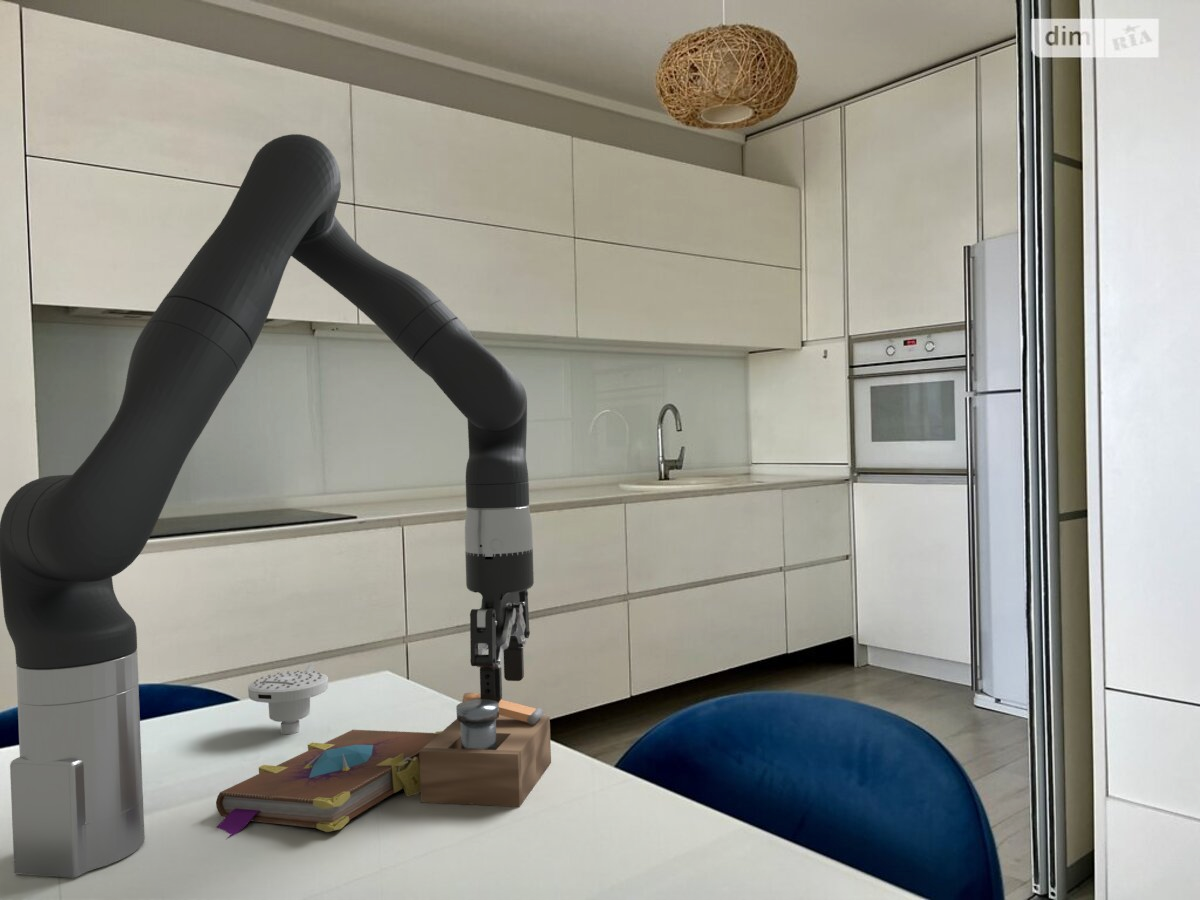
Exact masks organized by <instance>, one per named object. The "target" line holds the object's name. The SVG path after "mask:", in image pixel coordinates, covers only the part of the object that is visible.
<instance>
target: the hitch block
mask: <svg viewBox="0 0 1200 900" xmlns="http://www.w3.org/2000/svg"><path fill="white" fill-rule="evenodd" d="M550 718H551V717H550V716H548V715H547V716H546V715H545V716H543V715H542V717H541V718H540V719H539V720H538V721H537V722H536V724H534V725H530V724H529V723H528V722H524V721H521V720H517V719H513V718H509V717H505V716H501V715H499V717H498V718H497V719H496V743H497V749H496V750H479V749H461V722H459V721H458V720H457V718H455V719H454V720H453V721H452V722H451V723H450V724H449V725H448V726H447V727H446V728H445V729H443V730H441V731H442V732H441V733H440V734H439V735H437V736H436V737H435V738H434V739H433V740H432V741H430V742H429V743H428V744H427V745H426V746H425V747H423V748H422V749H421V750H420V751H419V758H420V784H421V791H420V802H421V803H429V804H431V803H432V804H451V805H452V804H454V805H471V806H472V805H476V806H496V807H497V806H498V807H500V806H501V807H521V805H522V804H523V803H524V801H525V800H526V799H527V797H528V796H529V794H530V793H531V792H532V790H533V789H534V788H535V786H536V785H537V784H538V782H539V780H541V778H542V777H543V775H544V774H545V772H546V771H547V769H548V767H549V766H550V765H551V764H552V749H551V722H550Z"/></svg>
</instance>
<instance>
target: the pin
mask: <svg viewBox="0 0 1200 900" xmlns="http://www.w3.org/2000/svg"><path fill="white" fill-rule="evenodd" d="M498 717H499V703H498V702H497V701H494V700H488V699H478V700H470V701H465V702H462V701H461V702H460V703H458V704H457V705H456V719H457V720H458V721H459V722H461V749H479V750H496V749H497V743H496V719H497V718H498Z"/></svg>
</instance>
